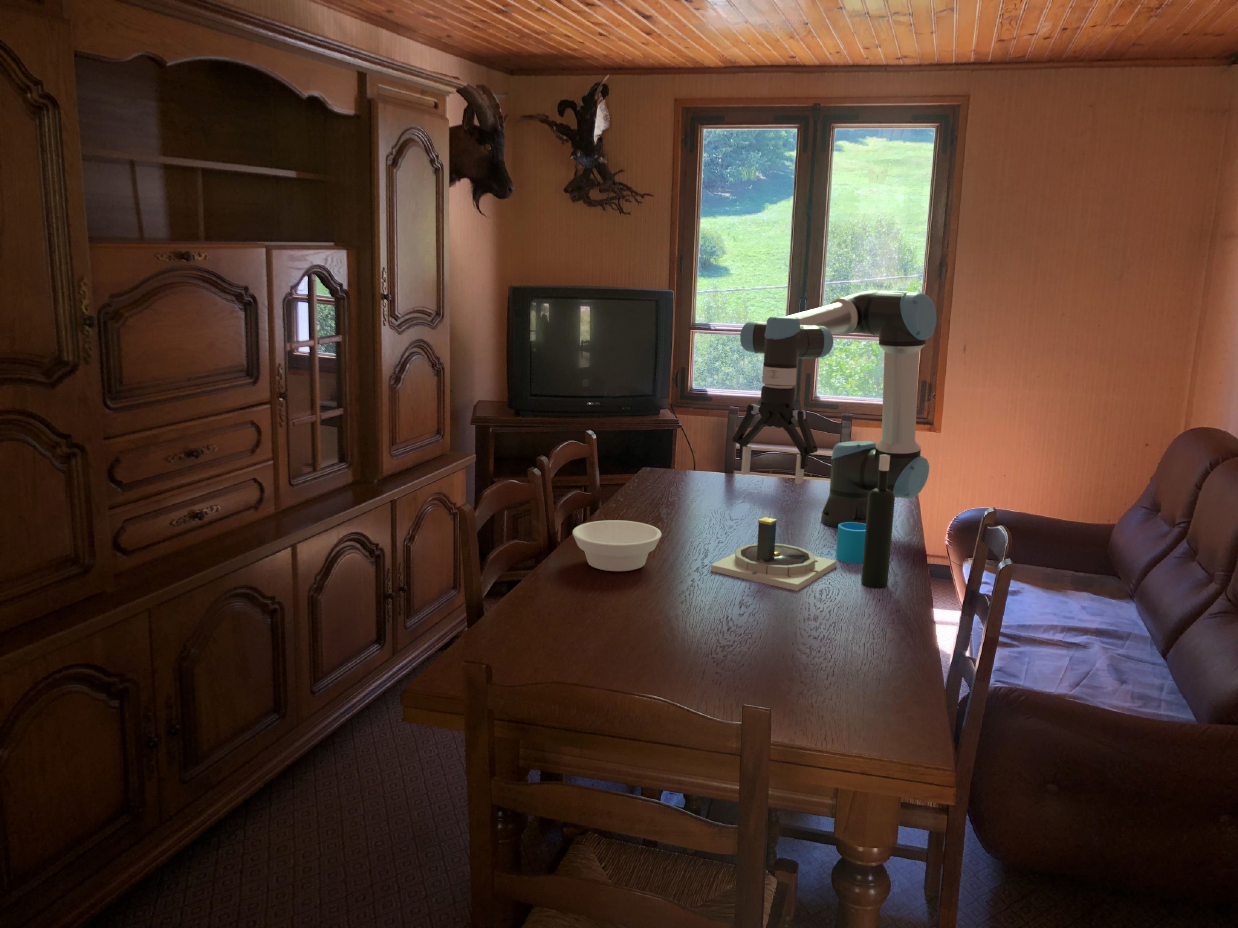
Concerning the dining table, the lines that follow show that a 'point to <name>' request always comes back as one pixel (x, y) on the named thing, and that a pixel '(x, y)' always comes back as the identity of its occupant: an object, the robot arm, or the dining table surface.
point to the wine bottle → (878, 530)
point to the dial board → (774, 579)
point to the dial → (772, 547)
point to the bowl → (616, 543)
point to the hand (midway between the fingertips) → (771, 478)
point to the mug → (851, 542)
